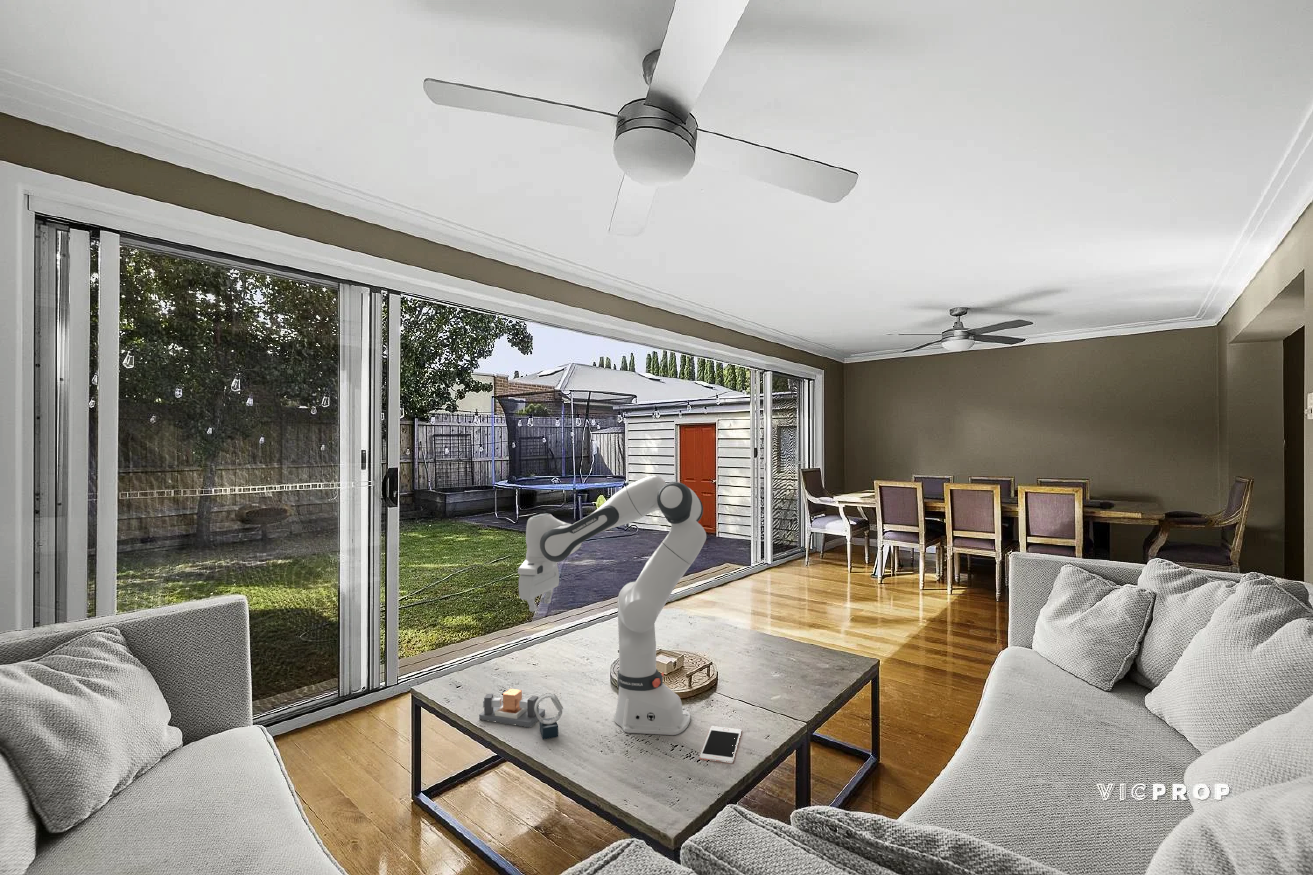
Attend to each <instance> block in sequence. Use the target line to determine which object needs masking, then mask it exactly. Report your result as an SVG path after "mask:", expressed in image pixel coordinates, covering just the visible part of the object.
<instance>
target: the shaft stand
mask: <svg viewBox="0 0 1313 875" xmlns="http://www.w3.org/2000/svg"><path fill="white" fill-rule="evenodd" d="M538 698H539V696H536V695H531V696H530V697H529V698H522V700H520V701H519V708H522V709H521V710H520V711H518V712H517V713H516V714H515V713H509V712H503V702H502V697H494V693H486V694H485V696H484V697H483V700H482V707H483V709H484V710H483V711H482V712H481V713H479V714H478V715H479V716H478V717H479V718H478V719H483V720H482V721H484V720H489V721H488V722H490V721H496V722H495V723H497V722H501V723H500V724H503V723H506V724H505V725H510V724H516V725H519V726H518V727H522V726H524V727H523V728H529V727H530V728H532V727H533V726H534V725H535V724H536V723H537V722H538V721H539V720H538V718H537V716H536V713H535V711H534V709H535V708H534V706H535V702H536V701H537V699H538ZM539 706H540V703H539V704H538V706H537V710H538V713H539V715H540V716H541V717H542V718H543V717H544V716H545V715H546V709H545V708H540V707H539ZM516 725H515V726H516Z"/></svg>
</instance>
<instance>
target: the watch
mask: <svg viewBox="0 0 1313 875" xmlns="http://www.w3.org/2000/svg"><path fill="white" fill-rule="evenodd" d="M549 698H550V700H551V702H552V704H553V705H554V706H555V708H556V710H557V711H558V712H557V715H555V717H547V718H543V716H542V717H541V716H540V715H539V713H538V710H537V706H538V704H539V705H540V703H541V702H542V701H543V700H545V699H549ZM534 708H535V709H534V711H535V713H536V716H537V718H538V721H539V723H538V724H539V726H538V728H539V734H540V736H541V739H542V740H548V739H553V738H559V724H558V721H559V720H560V718H561V717H562V715H563V710H564V706H563V705H562V702H561V701H560V699H559V698H558V696H557V695H556V694H555V693H551V692H547V693H544V694H541V695H540V696H538V699H537V701H536V702H535V706H534Z"/></svg>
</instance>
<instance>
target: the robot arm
mask: <svg viewBox="0 0 1313 875" xmlns="http://www.w3.org/2000/svg"><path fill="white" fill-rule="evenodd" d="M655 511H660V512H661V513H662V515H663V516H664V518H665V519H666V521H667V522H668V523H669V524H671V525H670V530H669V532H668V533H667V535H666V536H665V538H663V540H662V541H661V542H660V544H659V545H658V546H657V548H656V549H655V550H654V552H653V553H652V555H651V556H650V557H649V558H648V559H647V561H646V562H645V564H644V566H643V568H642V570H641V572H640V573H639V574H638V577H637V579H636V580H635V581H630V582H628V583H625V585H624V586H623V587H622V588H621V590H620V591H619V592H618V596H617V622H618V624H617V626H618V629H617V630H618V670H617V681H616V682H617V689H618V697H617V704H616V709H615V713H614V717H613V720H614V722H615V723H616V725H618V726H619V727H621V728H622V731H623V732H625V733H629V734H630V733H631V734H645V735H664V736H666V735H667V736H669V735H670V736H675V735H676V736H677V735H679V734H681V733H683V732H684V731H685V730H686V729H687V727H688V726H689V724H690V722H691V714H690V712H689V711H687V710H683V703H682V700H681V697H680V696H679V695H678V694H677V693H676V692H674V691H673V690H672V689H671V688H670V687H668V686H667V685H666V684H665V683H663V682H664V681H663V680H664V679H663V678H664V676H665V674H664V673H665V672H664V671H662V673H661V672H659V671H658V669H657V641H656V630H655V629H656V627H655V623H656V622H657V618H658V617H659V615H660V614H661V612H662V610H663V609H664V607H665V605H666V603H667V602H668V600H669V599H670V596H671V594H672V593H673V591H674V589H675V587H676V586H677V585H678V583H679V582H680V580H681V579H682V578H683V577H684V575H685V574H686V572H687V571H688V570H689V568H690V567H691V566H692V564H693V563H694V562H695V560H696V559H697V557H698V556H699V554H700V552H701V550H702V549H703V547H704V544H705V543H706V541H707V532H706V530H705V528H704V527H703V526H702V524H701V523H699V521H700V520H701V519H702V518H703V517H702V516H703V515H704V505H703V502H702V500H701V498H700V497H699V496H697V494H696V492H695V491H694V490H692V489H691V488H690V487H689V486H687V485H686V484H684V483H682V482H680V481H670V482H667V483H666V481H665V480H664V479H663V478H662V477H661V476H659V475H655V474H654V475H653V474H652V475H649V476H646V477H643V478H640V479H637V480H635V481H633V482H632V483H631V482H630V484H628V485H626V486H624V487H622V488H621V489H619V490H618V491H616V492H615V493H614V494H613V495H612V496H610V498H608V499H607V500H606V501H605V502H604V503H602V505H600V506H599V507H597V509H596V510H594V511H593V512H591V513H590V514H588V515H587V516H585V517H583V518H582V519H580V520H578V521H576V522H574V523H573V524H571V523H569V522H565V521H562V520H560V519H558V518H556V517H555V516H553V515H552V514H551V513H547V512H546V513H540V514H535V515H532V516H530V517H529V518H528V520H527V522H526V528H525V529H526V530H525V543H526V553H525V559H524V561H523V563H521V565H520V566H519V567H518V569H517V573H518V575H519V577H518V596H519V599H520V600H523V601H526V602H527V604H528V606H529V607H528V608H529V609H528V610H529V611H530V612H532V613H533V612H536V611H537V610H538V609H537V608H538V607H537V604H536V602H535V601H536V598H537V597H539V596H541V595H543V594H545V597H544V598H543V603H544V605H545V604H547V605H548V604H550V603H552V596H553V593H554V589H555V588H558V587H559V584H560V574H559V573H560V572H559V567H558V565H557V563H559V562H562V561H564V560H566V559H567V558H568V557H569V556H570V555H572V554H574V553H575V552H577V551H578V550H579V549H580V548H581V547H582V546H583V543H584V542H585V541H588V540H589V539H590V538H593V537H594V536H596V535H598V534H600V533H603V532H605V531H607V530H610V529H614V528H617V527H621V526H624V525H627V524H631V523H634V522H635V521H638V520H640V519H642V518H644V517H645V516H648V515H649V514H651V513H653V512H655Z"/></svg>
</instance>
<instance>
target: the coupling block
mask: <svg viewBox="0 0 1313 875" xmlns="http://www.w3.org/2000/svg"><path fill="white" fill-rule="evenodd" d="M522 699H523V690H522V689H515V688H509V689H508V690H506V691H505V692H504V693H502V703H503V712H509V713H515V714H516V713H517V712H518V711H520V710H521V709H522V708H519V701H520V700H522Z"/></svg>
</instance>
